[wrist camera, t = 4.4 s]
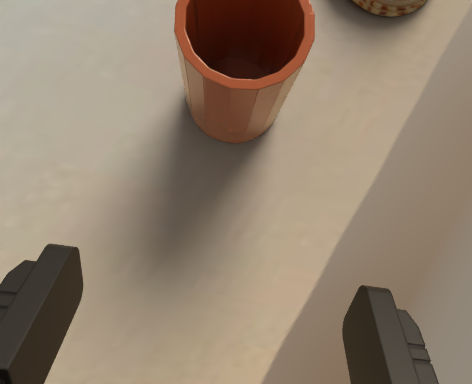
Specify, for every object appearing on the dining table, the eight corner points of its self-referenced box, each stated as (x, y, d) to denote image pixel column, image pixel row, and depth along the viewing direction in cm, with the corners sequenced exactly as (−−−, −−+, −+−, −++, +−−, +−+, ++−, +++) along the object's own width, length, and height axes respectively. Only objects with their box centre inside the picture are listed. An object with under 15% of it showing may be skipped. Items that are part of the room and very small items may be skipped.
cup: (206, 156, 28) (204, 109, 18) (174, 71, 28) (154, -20, 18) (292, 124, 28) (336, 62, 19) (259, 43, 29) (284, -60, 19)
